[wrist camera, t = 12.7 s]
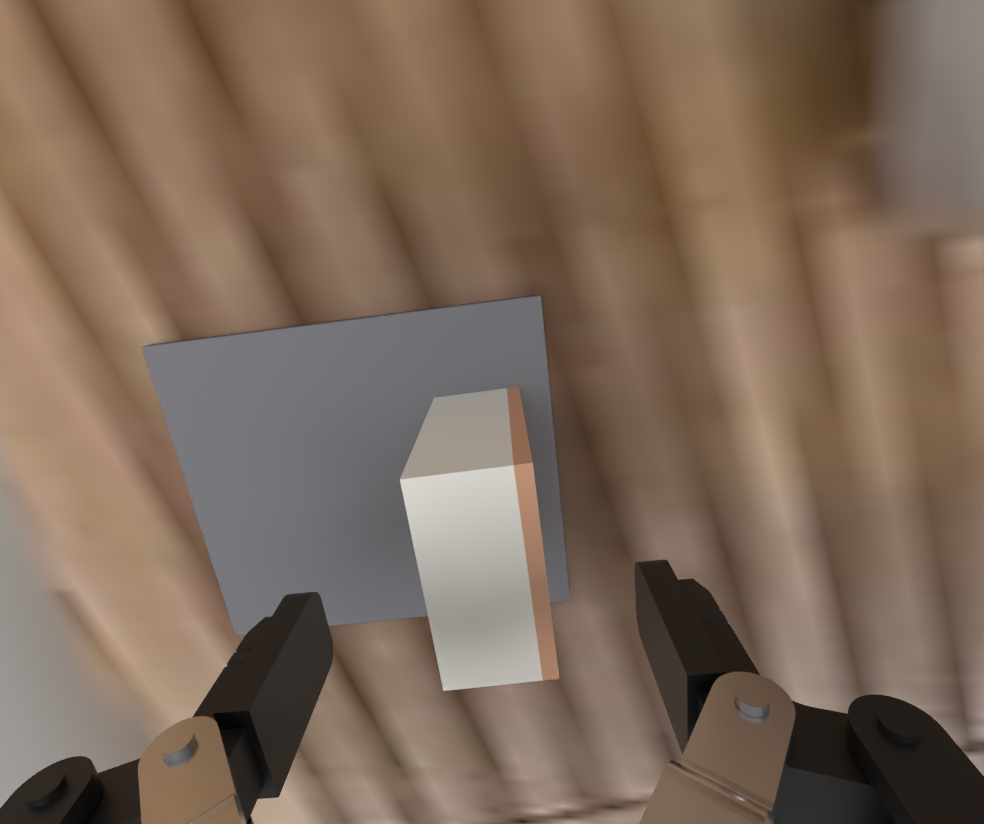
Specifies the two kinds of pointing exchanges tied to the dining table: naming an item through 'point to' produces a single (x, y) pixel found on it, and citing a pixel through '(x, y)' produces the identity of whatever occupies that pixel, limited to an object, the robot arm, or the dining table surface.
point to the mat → (341, 448)
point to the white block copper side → (480, 541)
